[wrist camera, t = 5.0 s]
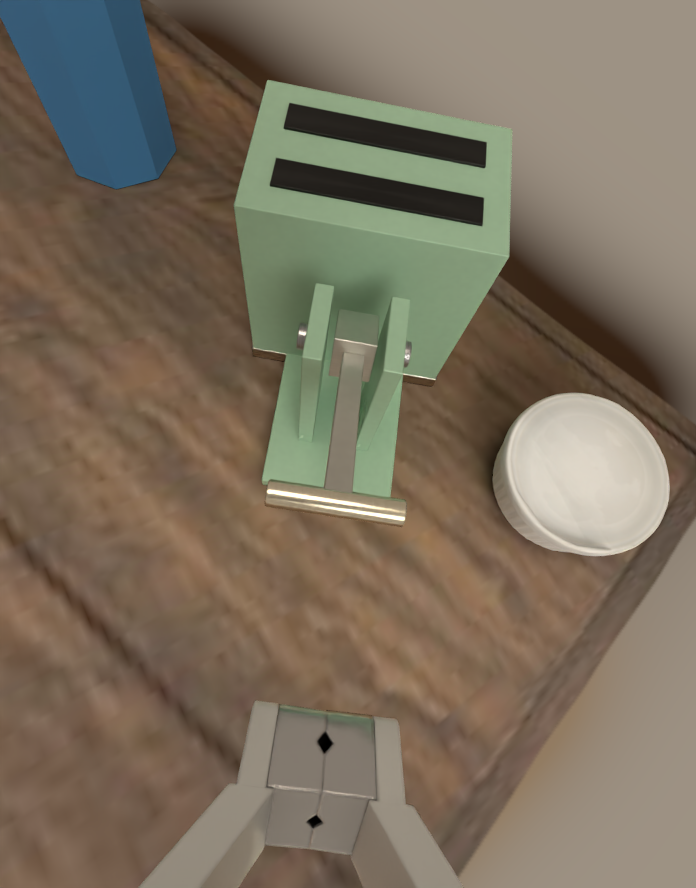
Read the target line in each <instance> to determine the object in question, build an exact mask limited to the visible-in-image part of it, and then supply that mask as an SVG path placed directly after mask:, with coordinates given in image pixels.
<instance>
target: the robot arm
mask: <svg viewBox="0 0 696 888" xmlns="http://www.w3.org/2000/svg"><path fill="white" fill-rule="evenodd" d="M278 706H279V709H278ZM277 714H278V715H277ZM276 720H277V721H276ZM264 845H267V846H279V847H291V848H303V849H312V850H319V851H326V852H333V853H339V854H346V855H352V856H351V860H352V862H353V864H354V867H355V869H356V872H357V874H358V876H359V879H360V881H361V883H362V886H363V888H464V887H463V885H462V884H461V882H460V880H459V879H458V877H457V875H456V874H455V872H454V871H453V869H452V867H451V866H450V864H449V863H448V861H447V859H446V858H445V856H444V854H443V853H442V851H441V850H440V848H439V846H438V845H437V843H436V842H435V840H434V838H433V837H432V835H431V834H430V832H429V830H428V829H427V827H426V825H425V824H424V822H423V821H422V819H421V817H420V816H419V814H418V813H417V811H416V809H415V808H414V806H413V805H407V804H406V801H405V789H404V777H403V766H402V754H401V742H400V730H399V724H398V721H397V719H394V718H385V717H375V716H372V715H366V714H358V713H349V712H340V711H331V710H326V711H324V710H317V709H311V708H304V707H297V706H291V705H284V704H279V703H271V702H264V701H256V700H255V702H254V705H253V707H252V711H251V716H250V721H249V726H248V731H247V735H246V740H245V745H244V750H243V754H242V759H241V764H240V769H239V774H238V778H237V783H236V784H233V783H229V784H228V785H227V786H226V787H225V788H224V789H223V790H222V792H221V793H220V794H219V795H218V796H217V797H216V799H215V800H214V801H213V802H212V803H211V804H210V805H209V807H208V808H207V809H206V810H205V811H204V812H203V813H202V815H201V816H200V817H199V818H198V819H197V820H196V822H195V823H194V824H193V825H192V826H191V827H190V828H189V830H188V831H187V832H186V833H185V834H184V835H183V837H182V838H181V839H180V840H179V841H178V842H177V843H176V845H175V846H174V847H173V848H172V849H171V850H170V851H169V853H168V854H167V855H166V856H165V857H164V858H163V860H162V861H161V862H160V863H159V864H158V865H157V866H156V868H155V869H154V870H153V871H152V872H151V873H150V875H149V876H148V877H147V878H146V879H145V880H144V881H143V883H142V884H141V885H140V886H139V887H138V888H238V887H239V886H240V884H241V883H242V881H243V880H244V878H245V877H246V875H247V873H248V872H249V870H250V869H251V867H252V866H253V864H254V863H255V861H256V860H257V858H258V857H259V855H260V854H261V852H262V851H263V849H264Z"/></svg>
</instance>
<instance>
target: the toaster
mask: <svg viewBox="0 0 696 888" xmlns="http://www.w3.org/2000/svg"><path fill="white" fill-rule="evenodd" d="M511 164H512V129H509V128H504V127H499V126H494V125H489V124H484V123H478V122H474V121H469V120H464V119H459V118H454V117H449V116H444V115H439V114H434V113H429V112H424V111H419V110H414V109H409V108H404V107H399V106H395V105H390V104H384V103H380V102H374V101H370V100H365V99H359V98H355V97H349V96H345V95H340V94H335V93H330V92H325V91H320V90H315V89H310V88H305V87H300V86H295V85H290V84H285V83H280V82H275V81H270V80H267V83H266V87H265V91H264V94H263V98H262V102H261V106H260V109H259V113H258V117H257V120H256V124H255V128H254V132H253V135H252V139H251V143H250V147H249V150H248V154H247V158H246V162H245V165H244V169H243V173H242V176H241V180H240V184H239V188H238V191H237V195H236V199H235V203H234V211H235V218H236V225H237V232H238V240H239V247H240V254H241V261H242V268H243V276H244V283H245V290H246V297H247V304H248V312H249V319H250V326H251V333H252V341H253V346H252V352H253V356H255V357H261V358H267V359H273V360H279V361H285V358H286V354H293V355H297V356H302V353H303V350H299V349H297V348H296V344H297V335H298V329H299V325H300V323H306V324H308V321H309V315H310V310H311V304H312V299H313V294H314V288H315V284H316V283H320V284H325V285H331V286H334V295H333V302H332V310H331V317H330V325H329V332H328V340H327V348H326V355H325V360H329V361H331V355H332V349H333V343H334V336H335V330H336V324H337V318H338V312H339V309H343V310H349V311H355V312H360V313H366V314H372V315H377V316H379V330H378V340H379V336H380V333H381V330H382V327H383V324H384V321H385V318H386V314H387V311H388V308H389V305H390V302H391V299H392V297H398V298H403V299H409V300H410V311H409V321H408V330H407V340H406V341H410V342H411V343H412V351H411V357H410V361H409V364H408V366H407V367H406V368H404V369H403V382H409V383H415V384H421V385H427V386H433V384H434V383H435V381H436V378H437V375H438V373H439V371H440V370H441V368H442V366H443V365H444V363H445V361H446V360H447V358H448V357H449V355H450V353H451V352H452V350H453V348H454V347H455V345H456V343H457V342H458V340H459V338H460V337H461V335H462V333H463V332H464V330H465V329H466V327H467V325H468V324H469V322H470V320H471V319H472V317H473V315H474V314H475V312H476V310H477V309H478V307H479V305H480V304H481V302H482V300H483V299H484V297H485V296H486V294H487V292H488V291H489V289H490V287H491V286H492V284H493V282H494V281H495V279H496V277H497V276H498V274H499V272H500V271H501V269H502V267H503V266H504V264H505V263H506V261H507V259H508V258H509V240H510V200H511Z"/></svg>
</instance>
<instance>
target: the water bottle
mask: <svg viewBox="0 0 696 888" xmlns="http://www.w3.org/2000/svg"><path fill="white" fill-rule="evenodd" d="M0 17H1V19H2V21H3V23H4V25H5V27H6V29H7V32H8V34H9V36H10V38H11V40H12V42H13V44H14V46H15V48H16V50H17V52H18V54H19V56H20V58H21V60H22V63H23V65H24V67H25V69H26V71H27V73H28V75H29V77H30V79H31V81H32V83H33V85H34V87H35V89H36V91H37V94H38V96H39V98H40V100H41V102H42V104H43V106H44V108H45V110H46V112H47V114H48V116H49V118H50V120H51V122H52V124H53V127H54V129H55V131H56V133H57V135H58V137H59V139H60V141H61V143H62V145H63V147H64V149H65V151H66V153H67V155H68V158H69V160H70V162H71V164H72V166H73V168H74V170H75V172H76V174H77V175H78V176H81V177H84V178H87V179H89V180H92V181H95V182H98V183H100V184H103V185H106V186H109V187H111V188H114V189H119V188H123V187H127V186H131V185H135V184H139V183H142V182H146V181H150V180H154V179H158V178H159V176H160V175H161V173H162V172H163V170H164V168H165V167H166V165H167V164H168V162H169V161H170V159H171V158H172V156H173V155H174V153H175V152H176V147H175V143H174V138H173V134H172V130H171V126H170V122H169V118H168V114H167V110H166V106H165V102H164V98H163V94H162V90H161V85H160V81H159V77H158V73H157V69H156V65H155V61H154V57H153V53H152V49H151V45H150V41H149V36H148V32H147V28H146V24H145V20H144V16H143V12H142V8H141V4H140V0H0Z"/></svg>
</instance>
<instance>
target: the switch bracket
mask: <svg viewBox="0 0 696 888" xmlns="http://www.w3.org/2000/svg"><path fill="white" fill-rule="evenodd" d="M333 295H334V286H331V285H325V284H320V283H316V284H315V288H314V294H313V299H312V304H311V310H310V315H309V321H308V324H306V323H300V325H299V329H298V335H297V344H296V348H297V349H299V350H303V353H302V356H297V355H293V354H286V358H285V363H284V368H283V374H282V379H281V384H280V389H279V394H278V399H277V404H276V409H275V414H274V419H273V424H272V430H271V435H270V440H269V445H268V450H267V455H266V460H265V465H264V470H263V475H262V484H263V485H268V481H269V480H270V479H275V480H282V481H288V482H295V483H301V484H307V485H314V486H320V487H324V481H325V474H326V467H327V460H328V452H329V445H330V438H331V431H332V424H333V416H334V409H335V402H336V395H337V388H338V380H339V377H335V376H329V375H328V374H329V368H330V362H331V361H329V360H325V355H326V348H327V340H328V332H329V325H330V317H331V310H332V302H333ZM409 311H410V300H409V299H403V298H398V297H392V299H391V302H390V305H389V308H388V311H387V314H386V318H385V321H384V324H383V327H382V330H381V333H380V336H379V340H378V346H377V351H376V355H375V359H374V363H373V368H372V372H371V376H370V380H369V382H364V381H362V387H361V399H360V410H359V422H358V433H357V445H356V456H355V468H354V479H353V490H352V491H353V492H359V493H366V494H372V495H378V496H385V497H390V496H391V486H392V477H393V467H394V457H395V448H396V438H397V429H398V419H399V409H400V400H401V390H402V381H403V369H404V368H406V367H407V366H408V364H409V361H410V357H411V351H412V343H411V342H410V341H406V340H407V330H408V321H409Z"/></svg>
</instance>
